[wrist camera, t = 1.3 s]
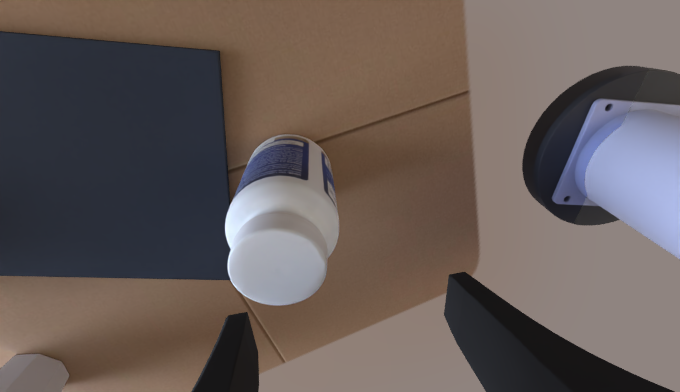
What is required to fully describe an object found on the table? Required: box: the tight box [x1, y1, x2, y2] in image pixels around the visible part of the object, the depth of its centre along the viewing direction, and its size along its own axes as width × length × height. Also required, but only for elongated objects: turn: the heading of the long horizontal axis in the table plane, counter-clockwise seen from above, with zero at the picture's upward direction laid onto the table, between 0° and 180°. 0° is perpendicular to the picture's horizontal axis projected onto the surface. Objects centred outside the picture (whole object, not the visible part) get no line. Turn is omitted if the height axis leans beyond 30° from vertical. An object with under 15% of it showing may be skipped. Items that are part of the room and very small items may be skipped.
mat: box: [0, 31, 231, 280], centre depth 21 cm, size 20×16×1 cm
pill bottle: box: [225, 134, 339, 306], centre depth 18 cm, size 5×5×10 cm
